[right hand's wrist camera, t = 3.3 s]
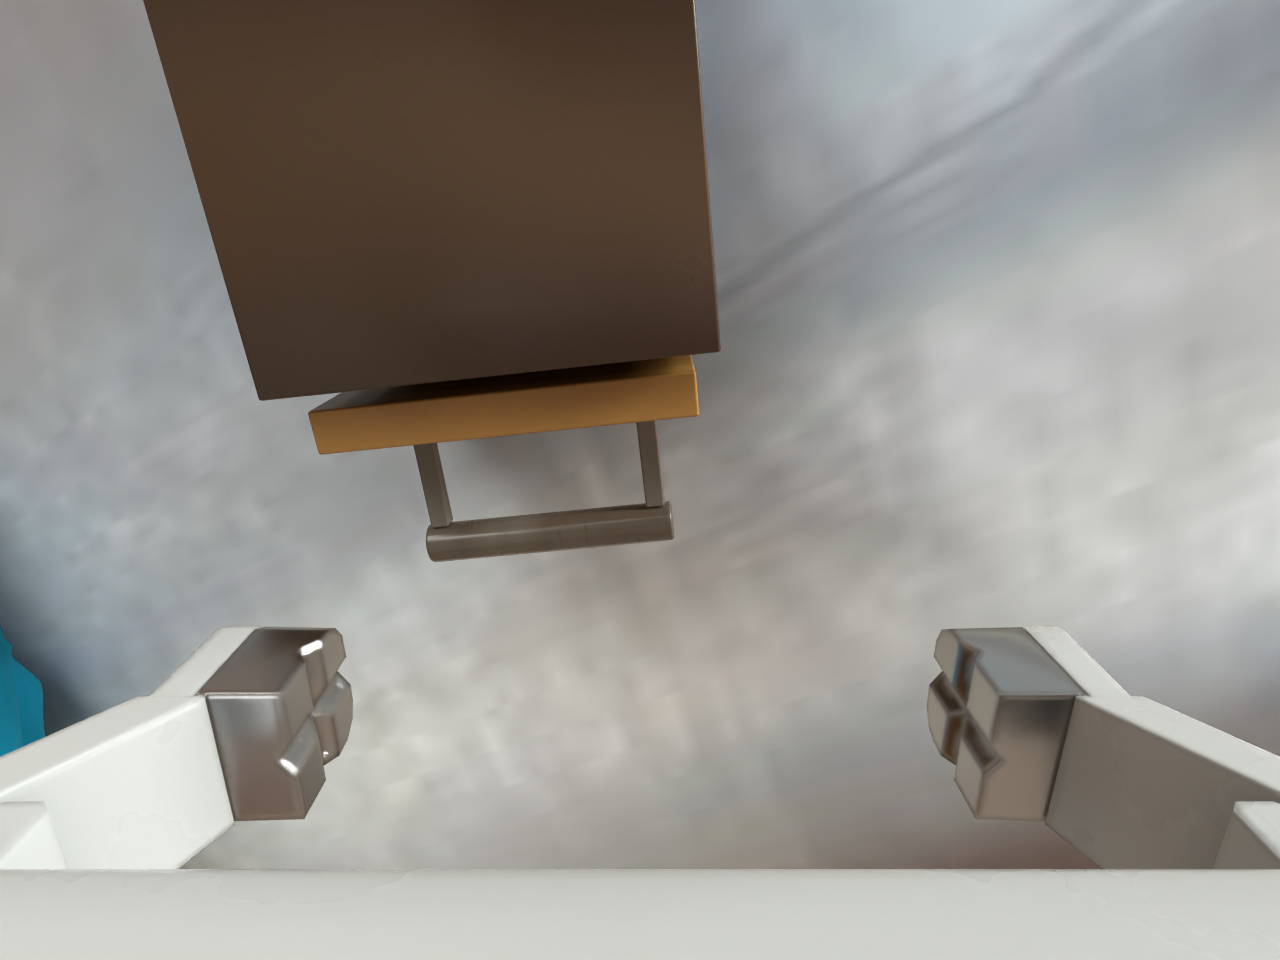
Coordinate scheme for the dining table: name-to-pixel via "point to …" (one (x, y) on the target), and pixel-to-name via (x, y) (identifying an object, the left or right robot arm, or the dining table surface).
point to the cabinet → (447, 183)
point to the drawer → (521, 410)
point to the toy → (18, 703)
